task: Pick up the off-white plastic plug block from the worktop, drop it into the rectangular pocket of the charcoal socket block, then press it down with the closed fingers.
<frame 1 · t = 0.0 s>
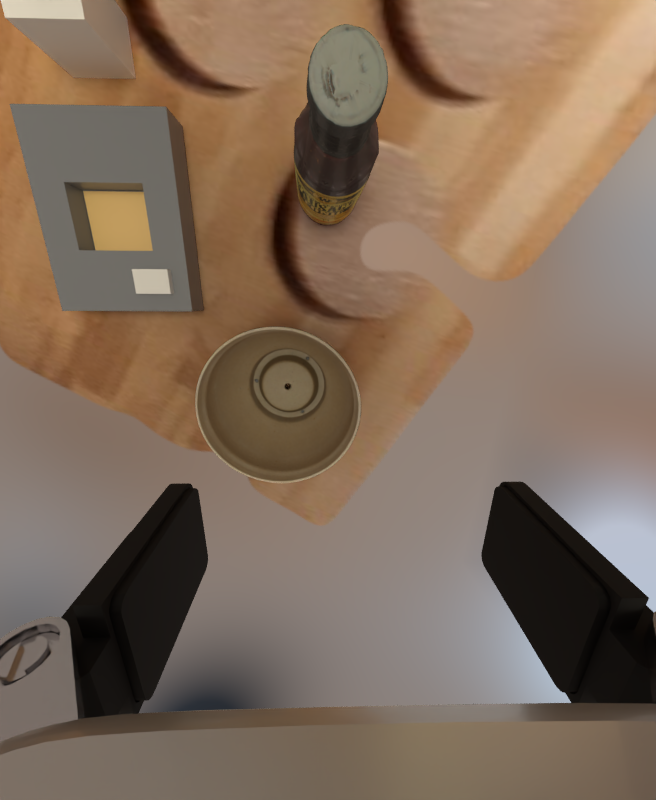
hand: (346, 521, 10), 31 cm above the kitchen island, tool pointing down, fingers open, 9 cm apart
plug: (99, 48, 30), on the kitchen island
planter bowl: (289, 381, 41), on the kitchen island
sauce bottle: (328, 196, 34), on the kitchen island
socket: (130, 225, 35), on the kitchen island
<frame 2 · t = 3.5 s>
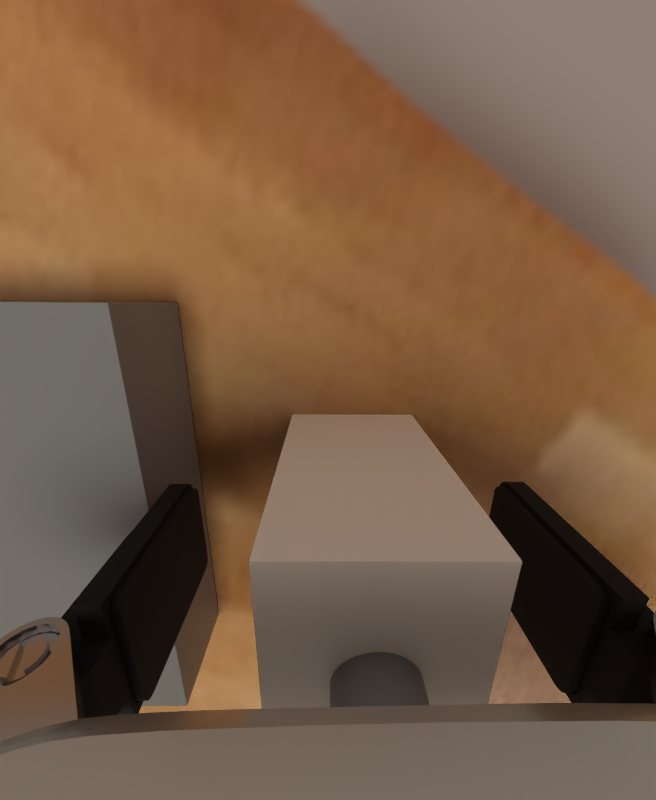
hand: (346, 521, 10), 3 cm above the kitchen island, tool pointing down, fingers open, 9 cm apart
plug: (349, 483, 13), on the kitchen island
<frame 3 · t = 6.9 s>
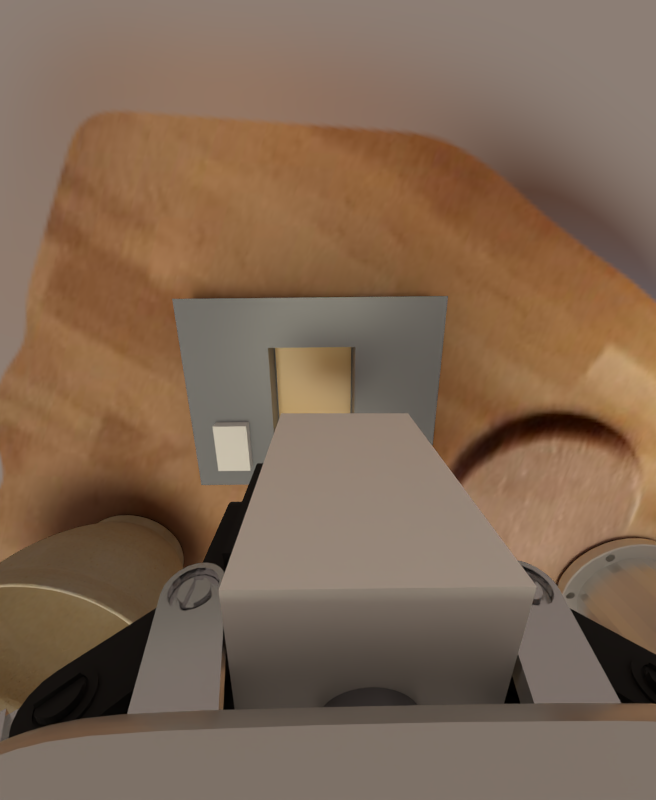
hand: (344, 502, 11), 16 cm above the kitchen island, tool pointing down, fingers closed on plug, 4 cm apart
plug: (343, 486, 12), point 15 cm above the kitchen island, touching gripper
planter bowl: (139, 551, 31), on the kitchen island
socket: (314, 386, 26), on the kitchen island
when the fingers open (5 cm above the kitchen island, at t = 9.4 s): plug drops 3 cm, resting on socket.
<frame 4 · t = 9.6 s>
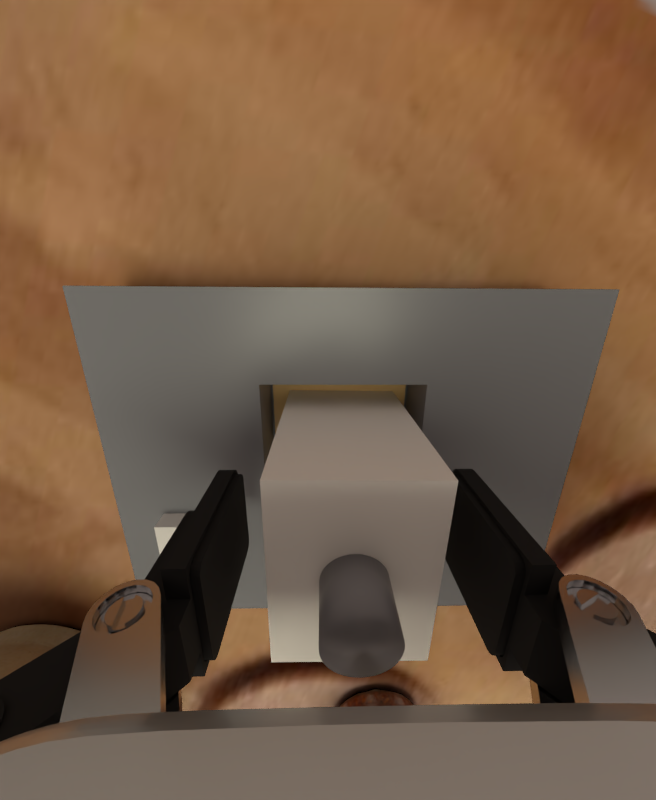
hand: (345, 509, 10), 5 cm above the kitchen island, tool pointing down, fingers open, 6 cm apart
plug: (339, 451, 15), point 1 cm above the kitchen island, touching socket
planter bowl: (64, 667, 21), on the kitchen island
sauce bottle: (373, 708, 23), on the kitchen island
socket: (337, 437, 16), on the kitchen island
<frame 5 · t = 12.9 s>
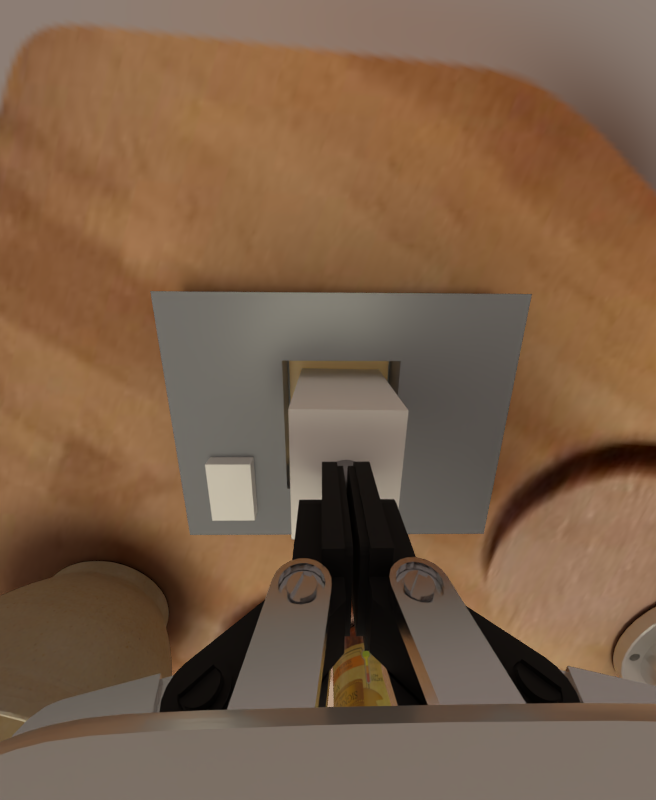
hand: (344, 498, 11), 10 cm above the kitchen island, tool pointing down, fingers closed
plug: (338, 416, 19), point 1 cm above the kitchen island, touching gripper, socket
planter bowl: (114, 601, 26), on the kitchen island
sauce bottle: (367, 642, 27), on the kitchen island
socket: (337, 407, 20), on the kitchen island
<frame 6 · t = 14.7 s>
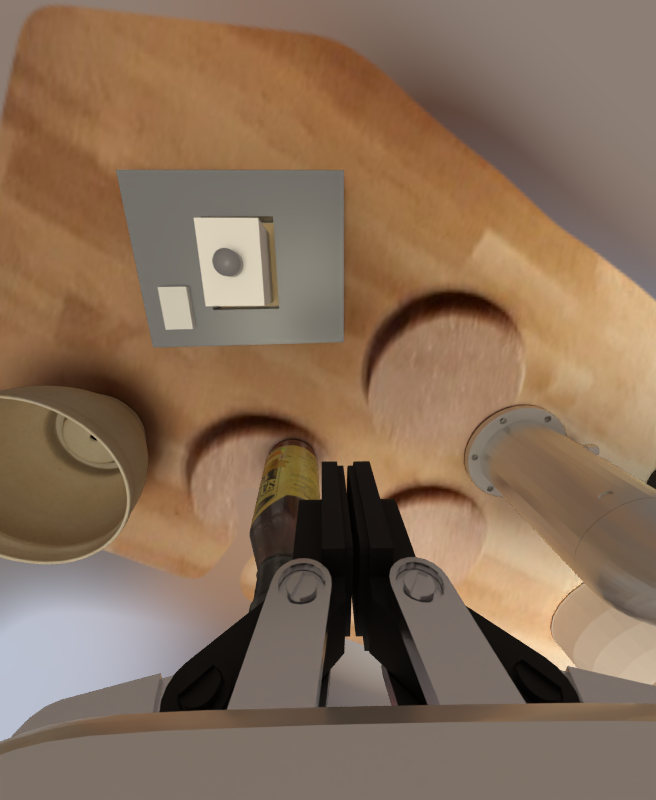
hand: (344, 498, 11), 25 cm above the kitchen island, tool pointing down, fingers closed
plug: (247, 268, 30), point 1 cm above the kitchen island, touching socket
planter bowl: (105, 430, 36), on the kitchen island
sauce bottle: (292, 460, 39), on the kitchen island
socket: (248, 267, 31), on the kitchen island
kettle: (607, 611, 52), on the kitchen island
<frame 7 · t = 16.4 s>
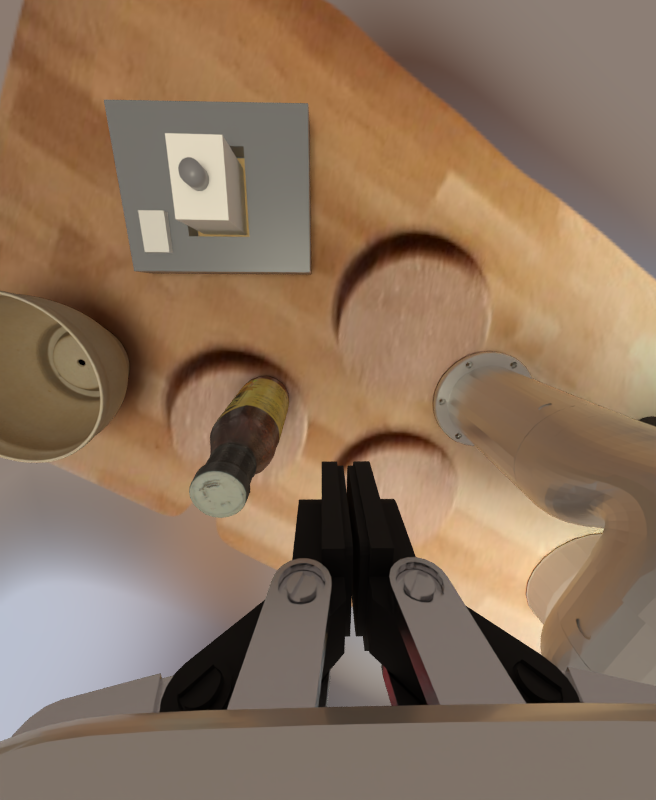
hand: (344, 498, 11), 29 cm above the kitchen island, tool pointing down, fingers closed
plug: (223, 202, 32), point 1 cm above the kitchen island, touching socket
planter bowl: (93, 360, 39), on the kitchen island
sauce bottle: (266, 398, 41), on the kitchen island
socket: (225, 203, 33), on the kitchen island
kettle: (585, 580, 52), on the kitchen island
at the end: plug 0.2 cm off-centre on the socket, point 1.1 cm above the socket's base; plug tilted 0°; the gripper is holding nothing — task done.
